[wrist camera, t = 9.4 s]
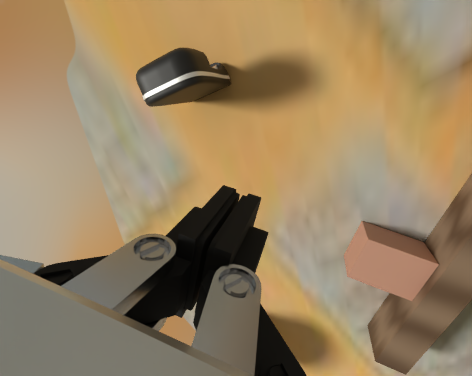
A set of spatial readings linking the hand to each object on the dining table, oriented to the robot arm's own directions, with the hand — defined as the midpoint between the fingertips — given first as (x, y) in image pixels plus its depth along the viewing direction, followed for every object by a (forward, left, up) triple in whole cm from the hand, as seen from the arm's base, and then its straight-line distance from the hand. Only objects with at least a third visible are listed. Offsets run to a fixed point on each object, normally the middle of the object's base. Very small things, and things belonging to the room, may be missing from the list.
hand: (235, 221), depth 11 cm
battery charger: (-3, -13, -26) cm, 29 cm away
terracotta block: (+11, +17, -26) cm, 33 cm away
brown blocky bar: (+11, +23, -26) cm, 36 cm away
